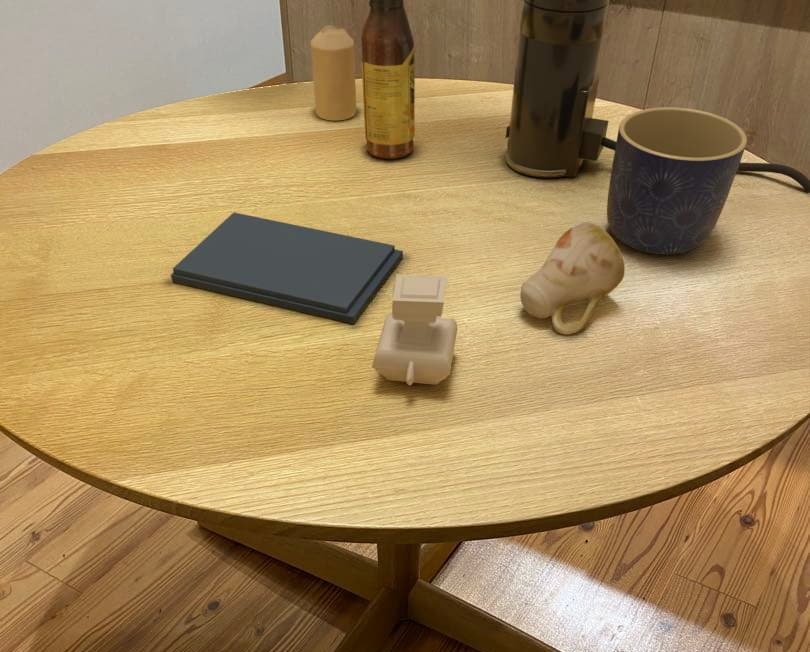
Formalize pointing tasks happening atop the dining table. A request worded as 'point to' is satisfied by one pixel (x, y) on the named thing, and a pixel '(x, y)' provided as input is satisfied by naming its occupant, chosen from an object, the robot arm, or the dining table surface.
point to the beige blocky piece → (416, 332)
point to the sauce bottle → (388, 80)
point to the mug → (574, 276)
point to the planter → (671, 177)
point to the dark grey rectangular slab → (289, 266)
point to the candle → (334, 74)
